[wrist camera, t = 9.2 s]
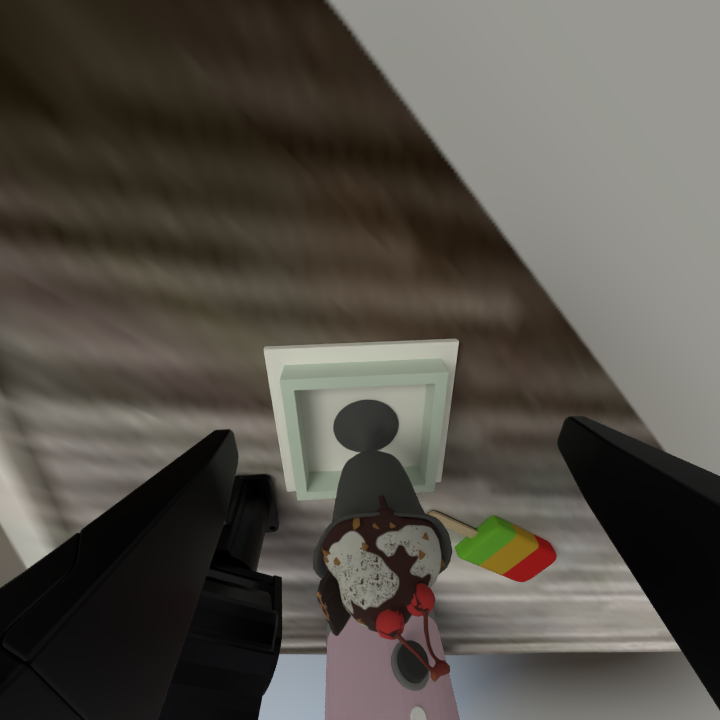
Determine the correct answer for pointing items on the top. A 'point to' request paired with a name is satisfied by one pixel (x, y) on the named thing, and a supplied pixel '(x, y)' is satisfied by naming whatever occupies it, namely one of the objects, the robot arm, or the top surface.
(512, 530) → the popsicle
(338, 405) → the holder cell
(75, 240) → the top surface
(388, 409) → the sundae
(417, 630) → the blender
